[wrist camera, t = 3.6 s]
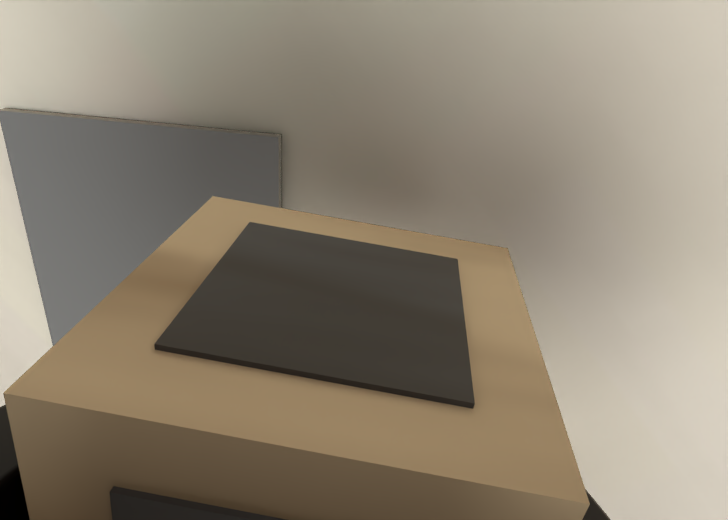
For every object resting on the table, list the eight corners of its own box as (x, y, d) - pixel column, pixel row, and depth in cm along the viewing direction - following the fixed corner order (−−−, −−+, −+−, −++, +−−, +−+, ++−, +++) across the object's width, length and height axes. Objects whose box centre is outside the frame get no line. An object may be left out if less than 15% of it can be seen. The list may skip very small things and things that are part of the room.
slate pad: (281, 435, 25) (279, 442, 24) (74, 408, 25) (69, 414, 25) (281, 134, 18) (278, 137, 18) (5, 108, 19) (-3, 110, 19)
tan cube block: (443, 462, 11) (455, 781, 7) (208, 418, 11) (62, 701, 7) (508, 244, 9) (594, 505, 4) (213, 192, 9) (-5, 392, 4)
